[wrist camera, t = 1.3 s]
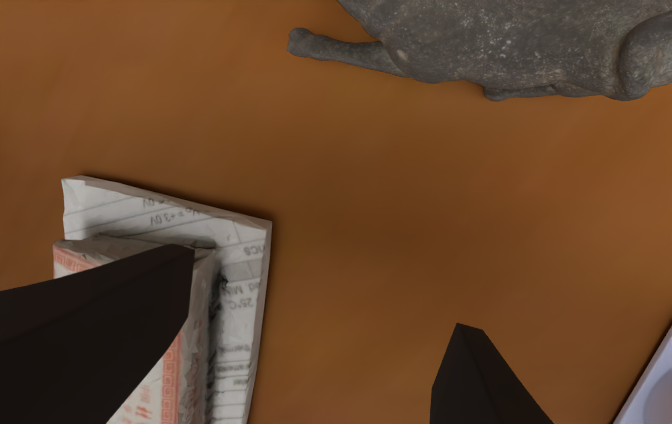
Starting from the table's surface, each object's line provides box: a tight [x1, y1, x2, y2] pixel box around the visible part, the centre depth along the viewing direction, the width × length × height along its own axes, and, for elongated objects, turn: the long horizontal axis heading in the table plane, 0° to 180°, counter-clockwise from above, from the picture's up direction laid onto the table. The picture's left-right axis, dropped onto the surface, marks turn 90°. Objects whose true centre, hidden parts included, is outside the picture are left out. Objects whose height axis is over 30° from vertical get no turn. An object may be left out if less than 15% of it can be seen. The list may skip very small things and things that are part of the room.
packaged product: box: [53, 175, 272, 424], centre depth 22 cm, size 18×5×10 cm
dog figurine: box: [287, 0, 672, 101], centre depth 13 cm, size 12×6×7 cm, turn 80°
